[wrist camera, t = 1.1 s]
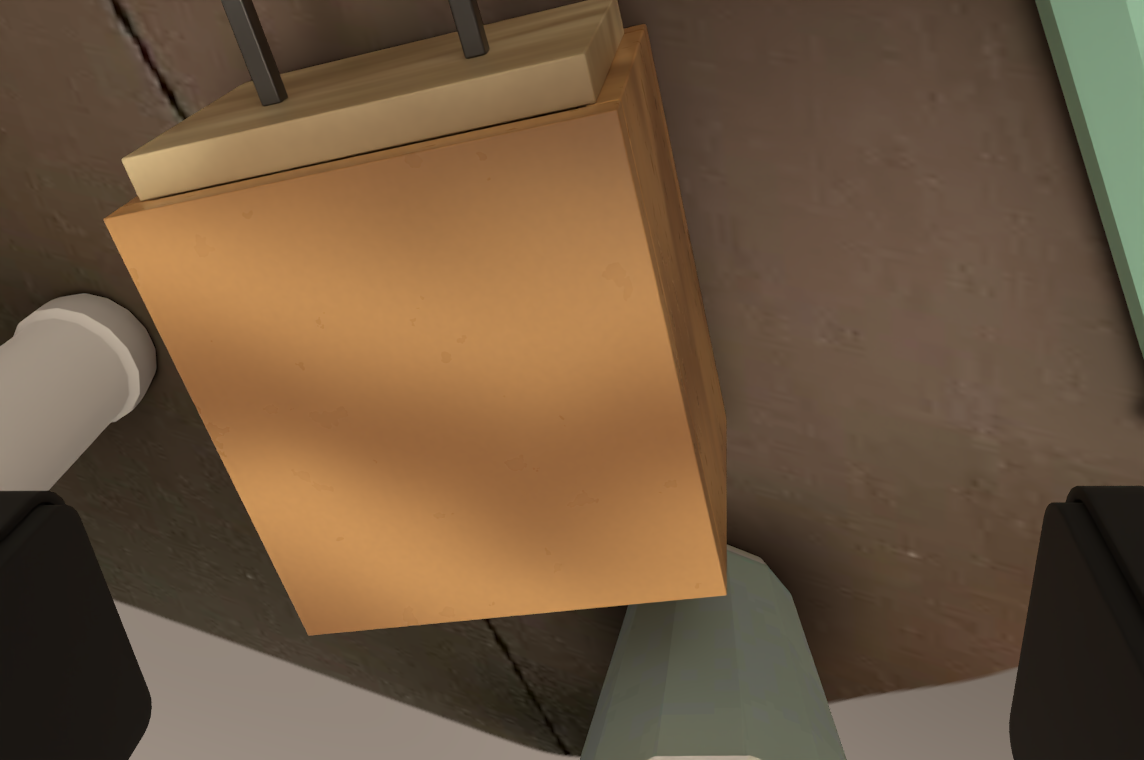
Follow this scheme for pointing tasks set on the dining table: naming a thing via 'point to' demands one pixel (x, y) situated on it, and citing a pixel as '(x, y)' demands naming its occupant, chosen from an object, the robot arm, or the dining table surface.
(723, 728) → the disposable coffee cup
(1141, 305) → the container
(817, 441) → the dining table surface
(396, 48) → the drawer
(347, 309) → the cabinet
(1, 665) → the robot arm
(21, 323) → the bottle
